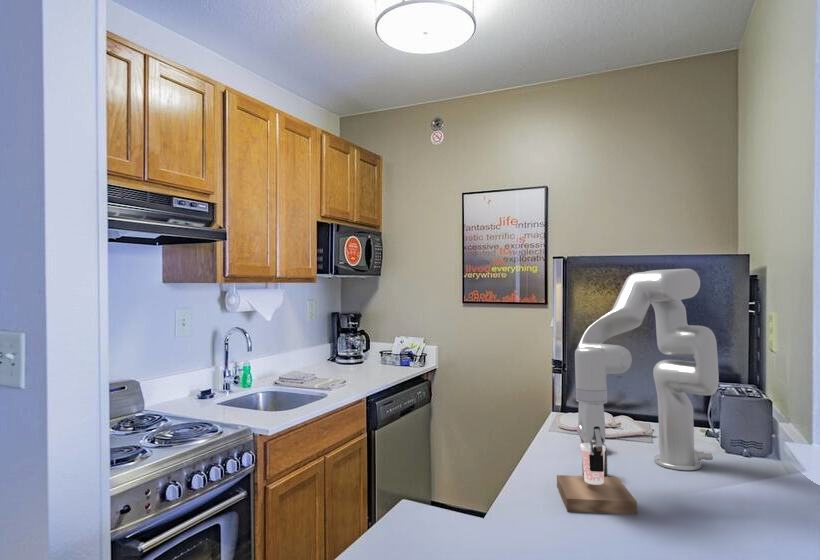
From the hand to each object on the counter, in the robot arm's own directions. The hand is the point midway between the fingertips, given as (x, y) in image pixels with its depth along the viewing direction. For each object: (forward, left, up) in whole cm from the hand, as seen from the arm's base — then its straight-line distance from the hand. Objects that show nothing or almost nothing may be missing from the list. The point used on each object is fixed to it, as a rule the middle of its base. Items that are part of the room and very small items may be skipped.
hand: (593, 465), depth 126 cm
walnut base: (0, 0, -8) cm, 8 cm away
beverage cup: (0, 0, -4) cm, 4 cm away
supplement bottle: (-4, -17, -9) cm, 19 cm away
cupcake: (-8, -41, -9) cm, 42 cm away
